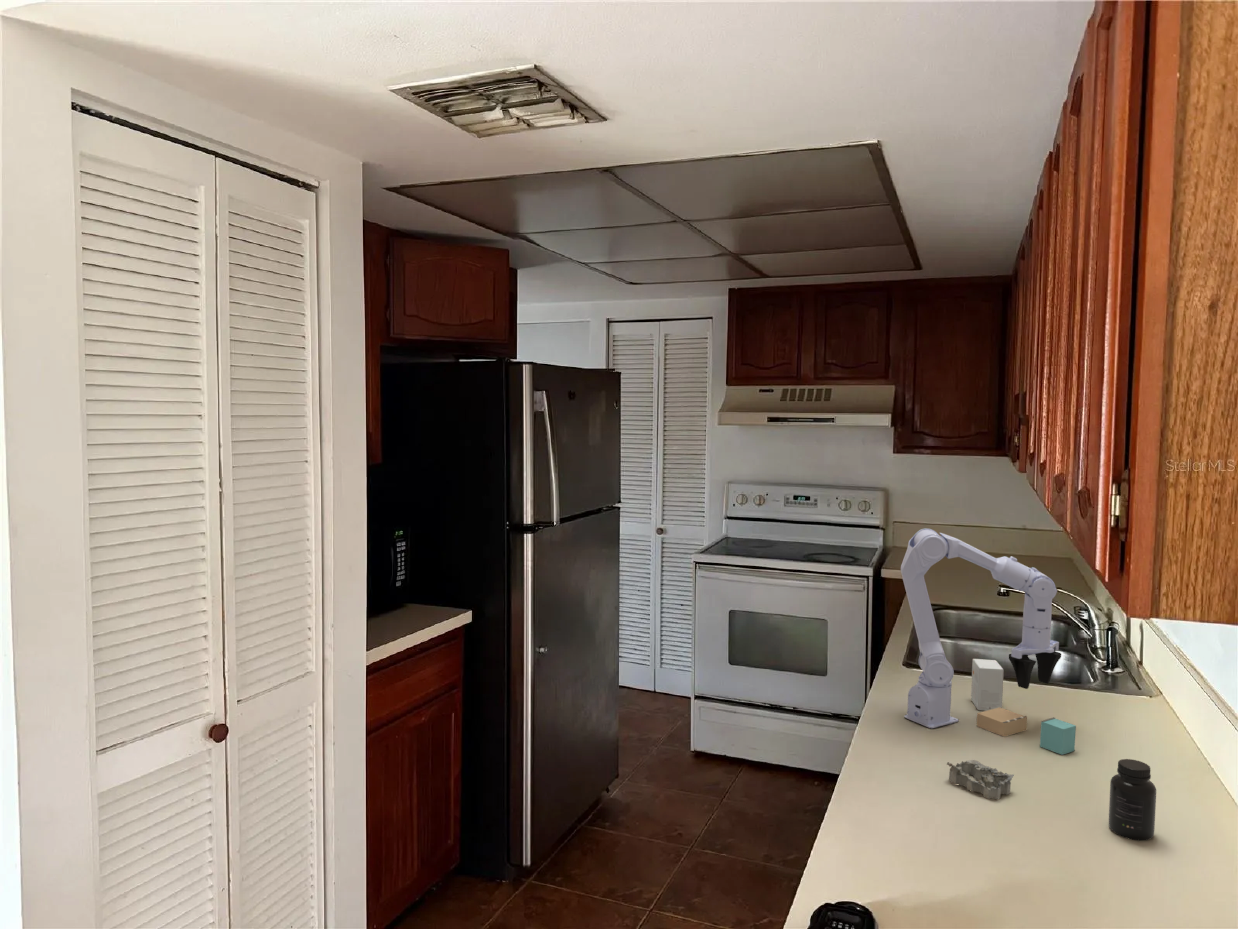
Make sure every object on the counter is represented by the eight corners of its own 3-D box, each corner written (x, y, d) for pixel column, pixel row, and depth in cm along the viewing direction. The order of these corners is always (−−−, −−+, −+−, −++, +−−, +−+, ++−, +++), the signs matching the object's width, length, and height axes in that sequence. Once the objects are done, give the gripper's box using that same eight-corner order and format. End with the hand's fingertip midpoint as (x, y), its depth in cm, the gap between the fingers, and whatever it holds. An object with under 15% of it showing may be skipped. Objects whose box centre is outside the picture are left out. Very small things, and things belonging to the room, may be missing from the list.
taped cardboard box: (1004, 736, 189) (1004, 722, 189) (976, 726, 195) (977, 712, 195) (1026, 730, 193) (1027, 716, 193) (998, 720, 199) (999, 706, 199)
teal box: (1062, 755, 179) (1063, 728, 179) (1039, 746, 184) (1041, 721, 183) (1074, 750, 182) (1075, 725, 181) (1052, 742, 186) (1053, 717, 185)
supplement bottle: (1111, 818, 152) (1115, 752, 151) (1156, 831, 148) (1161, 763, 147) (1104, 832, 147) (1108, 765, 146) (1150, 846, 143) (1155, 776, 142)
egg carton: (943, 782, 167) (943, 761, 166) (967, 773, 171) (967, 753, 170) (992, 803, 158) (993, 782, 157) (1016, 793, 162) (1017, 772, 162)
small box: (1002, 713, 204) (1004, 669, 203) (977, 710, 205) (979, 667, 204) (994, 701, 212) (996, 659, 211) (970, 699, 213) (972, 658, 212)
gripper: (1033, 634, 186) (1030, 695, 187) (1072, 626, 193) (1069, 685, 194) (1004, 626, 192) (1001, 685, 193) (1043, 619, 199) (1040, 676, 200)
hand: (1033, 684), depth 194 cm, fingers open, 7 cm apart
